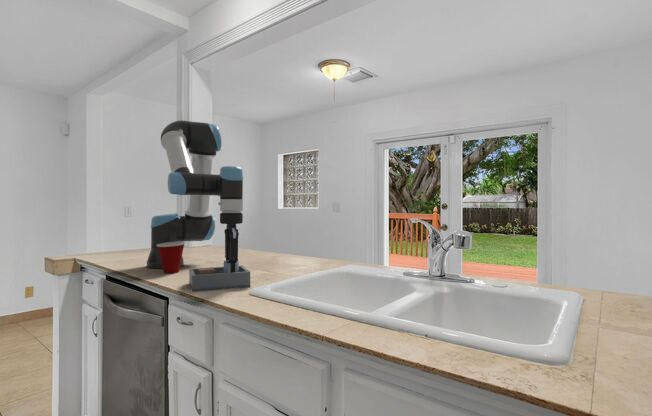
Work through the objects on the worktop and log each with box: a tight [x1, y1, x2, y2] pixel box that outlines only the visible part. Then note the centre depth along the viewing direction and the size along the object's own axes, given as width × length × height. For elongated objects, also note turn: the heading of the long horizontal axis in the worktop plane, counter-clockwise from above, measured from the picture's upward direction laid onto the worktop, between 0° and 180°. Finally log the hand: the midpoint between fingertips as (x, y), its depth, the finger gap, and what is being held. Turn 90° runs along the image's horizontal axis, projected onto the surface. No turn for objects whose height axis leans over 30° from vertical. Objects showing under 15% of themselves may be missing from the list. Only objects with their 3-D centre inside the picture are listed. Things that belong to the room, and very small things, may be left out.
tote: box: [188, 265, 251, 293], centre depth 123 cm, size 14×18×5 cm
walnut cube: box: [197, 266, 215, 275], centre depth 121 cm, size 5×5×5 cm
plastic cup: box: [156, 241, 186, 274], centre depth 147 cm, size 11×11×12 cm
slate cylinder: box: [223, 259, 240, 273], centre depth 124 cm, size 5×5×7 cm
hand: (231, 280), depth 124 cm, fingers closed on slate cylinder, 4 cm apart
